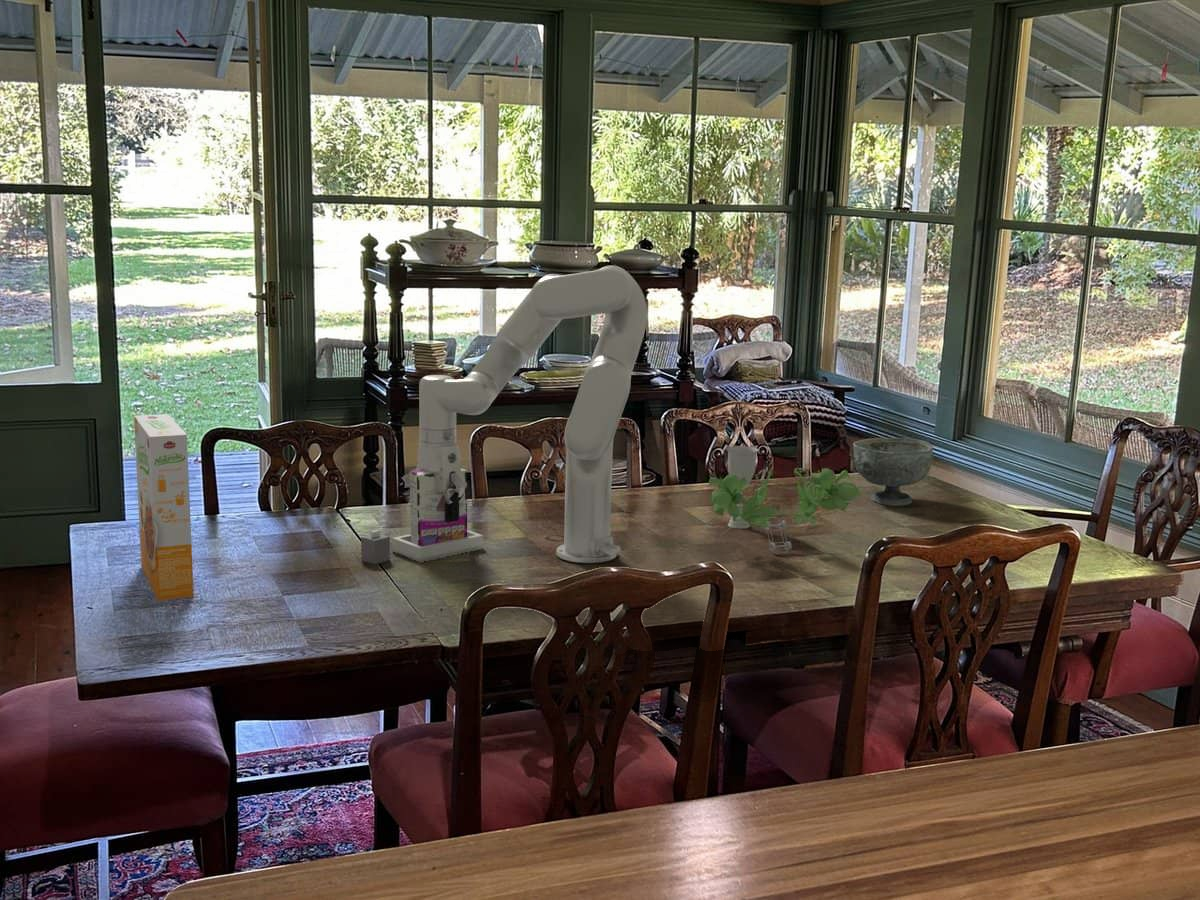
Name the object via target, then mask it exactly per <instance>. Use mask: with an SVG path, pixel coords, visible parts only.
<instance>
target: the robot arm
mask: <svg viewBox="0 0 1200 900" xmlns="http://www.w3.org/2000/svg"><path fill="white" fill-rule="evenodd" d="M647 308H648V307H647V302H646V299H645V295H644V293H643V291H642V288H641V287H640V285H639V284H638V283H637V281H636V280H635V279H634V277H633V276H632V275H631V274H630V273H629V272H628V271H626V270H625V269H624V268H623V267H620V266H617V265H612V264H611V265H606V266H605V265H604V266H603V267H601V268H599V269H597V270H591V271H589V270H588V271H583V272H578V273H571V274H570V273H569V274H556V273H550V274H546V275H544V276H543V277H541V278H540V279H538V280H537V281H536V282H535V284H534V285H533V287H532V288H531V289H530V291H529V292H528V294H527V295H526V296H525V297H524V298H523V300H522V301H521V302H520V304H519V305H518V306H517V307H516V308H515V310H514V311H513V313H512V314H511V315H510V316H509V317H508V319H507V320H506V321H505V322H504V324H503V325H502V326H501V327H500V329H499V330H498V332H497V334H496V337H495V338H494V340H493V342H492V343H491V345H490V346H489V347H488V349H487V350H486V351H485V353H484V354H483V355H482V357H481V358H480V359H479V360H478V362H477V363H476V364H475V366H474V367H473V368H472V369H471V370H470V371H469V373H468V374H467V375H466V376H465V377H464V378H462V379H455V378H454V377H452V376H450V375H446V374H430V375H425V376H423V377H422V378H420V380H419V383H418V384H419V386H418V387H419V388H418V391H419V392H418V393H419V394H418V395H419V398H418V400H419V402H418V403H419V406H418V408H419V411H418V412H419V414H418V415H419V418H418V419H419V427H418V429H419V434H418V435H419V436H418V437H419V441H418V447H417V448H418V449H417V457H416V458H417V459H416V460H417V461H416V467H415V468H414V469H412V470H411V471H417V470H423V471H427V472H430V473H433V474H434V481H435V489H436V491H437V492H440V493H443V494H444V496H445V499H446V501H447V503H445V522H447V523H449V522H454V521H458V520H459V502H461V498H462V497H463V493H464V490H465V487H466V485H465V484H464V482H463V481H462V474H461V468H462V461H461V454H460V447H459V444H458V443H457V413H458V414H462V415H467V416H468V415H469V416H477V415H478V416H479V415H481V414H483V413H484V412H486V411H487V410H489V407H490V406H491V405H492V403H493V402H494V401H495V399H496V398H497V397H498V395H499V394H500V393H501V392H502V390H503V389H504V388H505V387H506V386H507V384H508V383H509V382H510V380H511V379H512V378H513V377H514V376H515V374H516V373H517V372H518V371H519V370H520V368H521V367H522V366H523V365H524V364H526V363H527V362H528V361H529V360H530V359H531V358H532V357H533V356H534V355H535V354H536V353H537V352H538V350H539V349H540V347H541V346H542V345H543V344H544V342H545V341H546V340H547V339H548V337H549V336H550V335H551V333H552V332H553V331H554V330H555V328H556V327H558V326H559V324H560V322H561V321H562V320H566V319H576V318H581V317H588V316H596V315H603V314H604V321H603V323H602V328H601V330H600V334H599V336H598V340H597V342H596V346H595V349H594V352H593V355H592V356H591V359H590V362H589V364H588V365H587V367H586V368H585V371H584V374H583V377H582V380H581V383H580V386H579V388H578V392H577V395H576V398H575V400H574V403H573V406H572V409H571V412H570V414H569V417H568V419H567V421H566V425H565V429H564V433H563V434H564V435H563V436H564V437H563V438H564V439H563V440H564V444H565V447H566V451H565V452H566V453H565V455H566V456H565V483H564V484H565V485H564V533H563V538H564V539H563V544H561V545H559V546H557V548H556V556H557V557H558V558H560V559H561V560H565V561H567V562H573V563H580V564H597V563H598V564H599V563H605V562H609V561H612V560H614V559H616V558H617V555H618V553H620V552H621V546H619V545H616V544H614V536H611V513H612V512H611V511H612V510H611V508H612V506H611V505H612V482H613V481H612V479H613V453H614V450H613V449H614V437H615V434H616V432H617V429H618V426H619V424H620V422H621V417H622V414H623V412H624V409H625V406H626V403H627V401H628V398H629V394H630V390H631V385H632V384H631V381H632V380H631V379H632V375H633V374H632V373H633V370H634V367H635V365H636V361H637V360H638V359H637V358H638V355H639V352H640V349H641V346H642V343H643V339H644V336H645V331H646V328H647V321H648V310H647ZM450 487H451V488H450ZM447 488H448V489H447ZM449 493H453V495H452V496H450V494H449Z"/></svg>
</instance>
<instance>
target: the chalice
mask: <svg viewBox="0 0 1200 900" xmlns="http://www.w3.org/2000/svg"><path fill="white" fill-rule="evenodd" d="M726 450H727V453H728V462H727V472H728V474H730V473H735V475H736V476H737V477H738V479H739V480H741V479H742V478H744V477H745V478H746V481H747V486H748V485H750V482H751V481H752V479H753V478H754V477H753V476H754V475H755V472H756V463H757V462H756V461H757V454H758V453H759V448H757V447H752V446H746V445H745V446H743V445H733V446H728V447H726ZM744 489H747V487H746V488H744ZM744 489H742V490H741V491H740V492H739V493H740V494H742V495H743V496H744V494H743V490H744ZM744 505H745V504H744V503H740V504H737V506H738V508H739V510H740V516H741V512H742V509H743V507H744ZM740 520H743V519H741V518H740V517H738V518H736V521H735V522H733V518H732V516H731V518H730V519H729V522H728V523H727V526H728V527H729V528H730V527H731V526H732V527H731V528H733V529H748V528H750V526H751V525H750V523H748V522H746V521H744V520H743V521H740ZM737 521H740V522H737ZM735 523H736V524H735ZM734 524H735V525H734ZM733 525H734V526H733Z"/></svg>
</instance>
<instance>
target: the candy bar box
mask: <svg viewBox="0 0 1200 900" xmlns="http://www.w3.org/2000/svg"><path fill="white" fill-rule="evenodd" d="M467 473H468V471H467V469H465V468H463V467H461V474H462V481H463V482H464V484H465V485H466V487H465V490H464V493H463V497H462V498H461V502H459V520H458V521H454V522H449V523H447V522H445V503H447V501H446V499H445V496H444V494H443V493H440V492H437V491H436V489H435V481H434V474H433V473H430V472H427V471H423V470H417V471H412V470H411V471H409V507H410V508H409V513H410V514H409V515H410V534H411V543H413V544H416V545H419V546H426V545H431V544H436V543H441V542H445V541H450V540H455V539H460V538H465V537H467V530H468V474H467ZM450 488H451V487H450ZM447 489H448V488H447ZM449 494H450V496H452V495H453V493H449Z"/></svg>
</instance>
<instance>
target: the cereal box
mask: <svg viewBox="0 0 1200 900" xmlns="http://www.w3.org/2000/svg"><path fill="white" fill-rule="evenodd" d="M133 424H134V425H133V426H134V443H135V444H134V445H135V446H134V447H135V463H136V464H135V465H136V467H135V468H136V482H137V484H136V485H137V487H136V488H137V501H138V503H137V504H138V523H139V524H138V525H139V541H140V543H139V544H140V545H139V546H140V547H139V548H140V563H141V564H140V565H141V568H142V570H143V574H144V575H145V577H146V579H147V581H148V583H149V585H150V587H151V590H152V593H153V594H154V596H155V598H156V600H157V601H164V600H173V599H182V598H190V597H194V595H195V594H194V593H195V592H194V575H193V573H194V572H193V571H194V570H193V568H194V566H193V551H192V550H193V547H192V525H191V524H192V523H191V502H190V501H191V500H190V499H191V498H190V479H189V478H190V475H189V472H190V471H189V456H188V455H189V454H188V453H189V452H188V451H189V450H188V448H189V447H188V434H187V433H186V432H185V431H184V430H183V428H181V426H180V425H179V424H178V423H177V422H176V421H175V420H174V419H173V418H172V416H171V415H170V414H169V413H163V414H162V413H160V414H159V413H158V414H142V415H141V414H139V415H133Z"/></svg>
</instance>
